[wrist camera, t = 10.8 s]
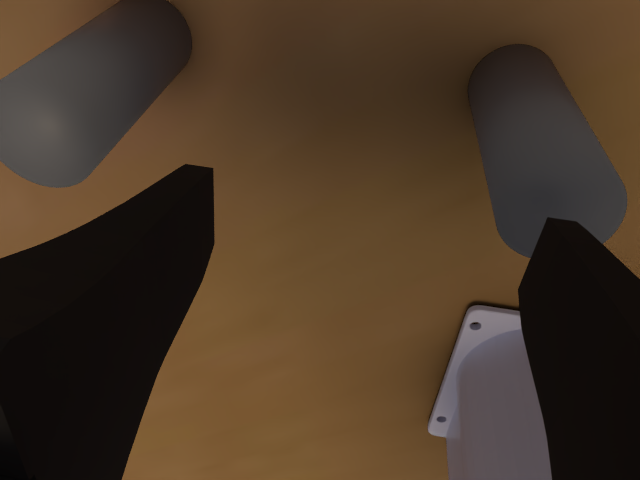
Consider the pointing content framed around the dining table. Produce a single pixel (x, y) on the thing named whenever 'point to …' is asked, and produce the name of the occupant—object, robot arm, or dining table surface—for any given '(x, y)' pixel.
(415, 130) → the dining table surface
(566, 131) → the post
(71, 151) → the post corner
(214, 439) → the dining table surface
